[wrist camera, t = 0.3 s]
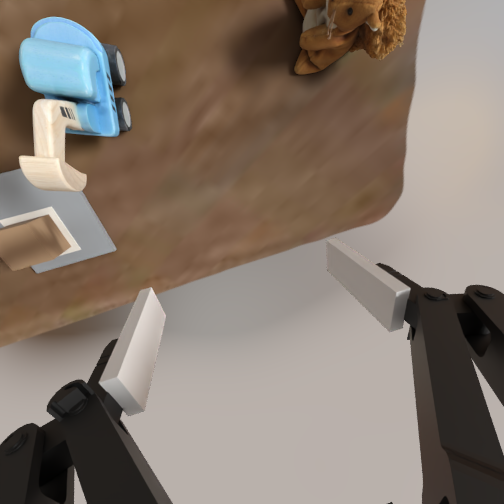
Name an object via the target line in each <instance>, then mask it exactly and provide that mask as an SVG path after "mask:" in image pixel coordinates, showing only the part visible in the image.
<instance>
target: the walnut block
mask: <svg viewBox="0 0 504 504" xmlns="http://www.w3.org/2000/svg"><path fill="white" fill-rule="evenodd" d="M70 247H71V245H70V244H69V242H68V241H67V240H66V238H65V237H64V235H63V234H62V233H61V231H60V230H59V228H58V227H57V225H56V224H55V223H54V221H53V220H52V218H51V217H50V216H49V214H48V215H44V216H40V217H37V218H33V219H29V220H26V221H22V222H18V223H14V224H11V225H8V226H5V227H3V228H0V257H1V258H2V259H3V261H4V262H5V263H6V264H7V265H8V266H9V267H10V268H11V269H12V270H13V271H15V270H19V269H22V268H26V267H29V266H33V265H36V264H40V263H43V262H47V261H50V260H54V259H55V258H56V257H58V256H59V255H61V254H62V253H63V252H65V251H66V250H67V249H69V248H70Z"/></svg>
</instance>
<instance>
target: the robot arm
mask: <svg viewBox="0 0 504 504" xmlns="http://www.w3.org/2000/svg"><path fill="white" fill-rule="evenodd" d="M326 244H327V245H326V246H327V271H328V272H329V273H330V274H331V275H332V276H333V277H334V278H335V279H336V280H337V281H338V282H339V283H341V284H342V286H343V287H344V288H345V289H346V290H347V291H348V292H350V294H351V295H353V296H354V297H355V298H356V299H357V300H358V301H359V302H360V303H361V304H362V305H363V306H364V307H365V308H366V309H367V310H368V311H369V312H370V313H371V314H372V315H373V316H374V317H375V318H376V319H377V320H378V321H379V322H380V323H381V324H382V325H383V326H384V327H385V328H386V329H387V330H388V331H389V332H392V331H395V330H398V329H401V328H403V323H404V320H405V321H406V322H407V323H408V324H410V328H409V333H408V337H407V340H410V344H411V355H412V365H413V375H414V386H415V397H416V408H417V419H418V430H419V440H420V451H421V462H422V473H423V492H422V504H504V455H503V452H502V449H501V446H500V443H499V440H498V437H497V434H496V431H495V428H494V425H493V422H492V419H491V417H490V413H489V410H488V407H487V404H486V401H485V399H484V395H483V392H482V389H481V386H480V383H479V380H478V377H477V374H476V371H475V368H474V365H473V362H472V360H473V361H474V363H475V364H476V366H477V367H478V369H479V370H480V372H481V373H482V375H483V376H484V378H485V379H486V381H487V382H488V384H489V385H490V387H491V388H492V389H493V391H494V393H495V394H496V396H497V397H498V399H499V400H500V402H501V403H502V405H503V406H504V294H503V293H501V292H499V291H498V290H496V289H494V288H491V287H488V286H483V285H470V286H468V287H467V288H466V290H465V293H464V294H447V293H445V292H444V291H441V290H439V289H435V288H423V287H421V286H419V285H418V284H416V283H415V282H413V281H411V280H410V279H408V278H407V277H405V276H404V275H401V274H400V273H399V272H396V270H394V269H393V268H391V267H389V266H387V265H384V264H381V263H378V264H374V263H372V262H371V261H369V260H368V259H367V258H365V257H364V256H362V255H360V254H359V253H357V252H356V251H354V250H353V249H352V248H350V247H349V246H347V245H346V244H344V243H343V242H341V241H340V240H338V239H337V238H333V239H329V240H326ZM165 319H166V315H165V313H164V311H163V309H162V307H161V305H160V303H159V301H158V299H157V297H156V295H155V293H154V291H153V289H152V287H151V288H147V289H143V290H140V292H139V294H138V297H137V299H136V301H135V303H134V306H133V308H132V310H131V312H130V314H129V317H128V319H127V321H126V323H125V325H124V328H123V330H122V332H121V335H120V336H119V338H118V339H115V340H112V341H111V342H110V343H109V344H108V345H107V346H106V348H105V349H104V351H103V353H102V355H101V357H100V359H99V361H98V363H97V366H96V367H95V369H94V371H93V373H92V375H91V377H90V379H89V381H88V383H87V384H86V383H85V382H84V381H83V380H75V381H72V382H70V383H68V384H67V385H65V386H63V387H62V388H61V389H60V390H59V391H57V392H56V394H55V395H54V396H53V397H52V398H51V400H50V401H49V403H48V405H47V412H48V413H49V414H51V415H52V416H53V417H54V418H55V419H54V420H52V421H50V422H49V423H47V424H45V425H43V426H42V427H39V426H37V425H36V424H34V423H30V424H26V425H24V426H22V427H20V428H18V429H17V430H16V431H14V432H13V433H12V434H10V435H9V436H8V437H7V438H6V439H5V440H4V441H3V442H2V444H1V445H0V504H74V466H75V469H76V472H77V475H78V478H79V481H80V484H81V487H82V490H83V493H84V496H85V499H86V501H87V504H173V503H172V502H171V500H170V499H169V497H168V495H167V493H166V492H165V490H164V489H163V487H162V485H161V484H160V482H159V481H158V479H157V477H156V476H155V474H154V473H153V471H152V469H151V468H150V466H149V464H148V463H147V461H146V459H145V458H144V456H143V455H142V453H141V451H140V450H139V448H138V446H137V445H136V443H135V442H134V440H133V438H132V437H131V435H130V434H129V432H128V430H127V429H126V427H125V426H124V424H123V422H122V421H121V420H120V417H121V414H122V411H124V412H125V413H126V414H127V415H128V416H131V415H134V414H137V413H140V412H143V411H145V407H146V402H147V398H148V393H149V389H150V385H151V380H152V375H153V372H154V367H155V363H156V358H157V354H158V350H159V345H160V341H161V336H162V332H163V328H164V323H165ZM471 358H472V359H471ZM388 504H393V503H392V502H390V503H388Z"/></svg>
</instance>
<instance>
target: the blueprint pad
mask: <svg viewBox="0 0 504 504" xmlns="http://www.w3.org/2000/svg"><path fill="white" fill-rule="evenodd" d="M48 214H49V216H50V217H51V218H52V220H53V221H54V223H55V224H56V225H57V227H58V228H59V230H60V231H61V233H62V234H63V235H64V237H65V238H66V240H67V241H68V242H69V244H70V245H71V247H70V248H69V249H67V250H66V251H65V252H63V253H62V254H61V255H59V256H58V257H56V258H55V259H54V260H50V261H47V262H43V263H40V264H36V265H33V266H31V267H32V268H33V269H34V271H35V272H36V273H40V272H44V271H47V270H51V269H54V268H58V267H61V266H65V265H68V264H72V263H75V262H79V261H82V260H85V259H89V258H92V257H96V256H99V255H103V254H106V253H110V252H113V251H116V247H115V245H114V244H113V242H112V240H111V239H110V237H109V235H108V234H107V232H106V230H105V229H104V227H103V225H102V224H101V222H100V220H99V219H98V217H97V215H96V214H95V212H94V210H93V209H92V207H91V205H90V204H89V202H88V200H87V199H86V197H85V195H84V193H83V192H82V191H79V192H67V191H45V190H41V189H39V188H37V187H35V186H34V185H32V184H31V183H30V182H29V181H28V180H27V178H26V177H25V175H24V174H23V172H22V170H21V169H17V170H13V171H9V172H5V173H1V174H0V228H3V227H5V226H8V225H11V224H14V223H18V222H22V221H26V220H29V219H33V218H37V217H40V216H44V215H48Z"/></svg>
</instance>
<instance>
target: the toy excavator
mask: <svg viewBox="0 0 504 504" xmlns="http://www.w3.org/2000/svg"><path fill="white" fill-rule="evenodd" d="M19 62H20V67H21V71H22V74H23V77H24V80H25V82H26V84H27V86H28V87H29V88H30V89H32V90H33V91H36V92H39V93H42V94H44V96H45V99H39V100H37V101H36V102H35V103H34V105H33V110H32V112H33V134H34V154H35V156H19V164H20V167H21V170H22V172H23V174H24V175H25V177H26V178H27V180H28V181H29V182H30V183H31V184H32V185H34V186H35V187H37V188H39V189H41V190H45V191H67V192H79V191H82V190H83V189H84V187H85V185H86V180H87V177H86V174H84V173H80V172H79V171H77V170H76V169H74V168H73V167H71V166H70V165H68V164H67V163H65V133H71V134H83V135H94V136H107V137H116V136H118V135H119V131H130V130H131V129H132V126H131V125H132V124H131V117H130V116H131V115H130V113H129V108H128V105H127V102H126V101H125V99H124V98H114V93H113V87H112V84H113V85H121V86H125V84H126V77H125V74H126V69H125V64H124V60H123V57H122V54H121V52H120V50H119V49H118V48H117V46H115V45H109V44H103V43H100V42H99V41H98V40H97V39H96V37H95V36H94V35H93V34H92V33H90V32H89V31H88V30H87V29H85V28H84V27H82V26H81V25H79V24H78V23H76V22H74V21H71V20H68V19H65V18H61V17H48V18H44V19H41V20H39V21H38V22H36V23H35V24H34V25H33V27H32V29H31V38H27V39H25V40H24V41H23V42H22V43H21V45H20V50H19Z"/></svg>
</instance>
